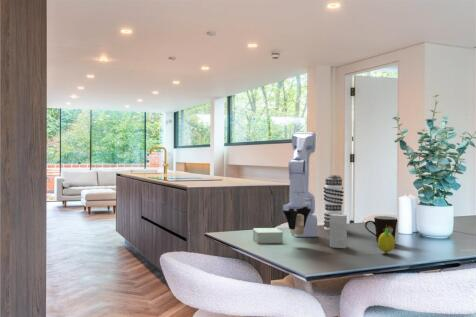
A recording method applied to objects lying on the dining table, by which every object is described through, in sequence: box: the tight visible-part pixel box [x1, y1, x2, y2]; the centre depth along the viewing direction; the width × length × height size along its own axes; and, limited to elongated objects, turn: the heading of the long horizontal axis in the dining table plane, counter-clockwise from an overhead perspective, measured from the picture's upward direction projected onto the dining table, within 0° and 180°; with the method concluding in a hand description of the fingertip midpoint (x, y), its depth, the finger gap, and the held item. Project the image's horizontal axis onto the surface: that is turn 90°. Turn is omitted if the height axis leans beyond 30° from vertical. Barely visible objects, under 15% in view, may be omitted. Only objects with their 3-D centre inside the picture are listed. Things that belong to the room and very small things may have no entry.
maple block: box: [289, 214, 304, 235], centre depth 157 cm, size 4×4×7 cm
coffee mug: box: [364, 215, 398, 244], centre depth 164 cm, size 12×9×10 cm
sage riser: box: [252, 227, 284, 244], centre depth 167 cm, size 10×10×4 cm
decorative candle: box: [322, 174, 344, 231], centre depth 195 cm, size 9×9×25 cm
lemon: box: [377, 225, 396, 255], centre depth 145 cm, size 7×6×10 cm
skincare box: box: [329, 214, 348, 249], centre depth 156 cm, size 6×4×12 cm
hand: (296, 228), depth 157 cm, fingers closed on maple block, 6 cm apart
